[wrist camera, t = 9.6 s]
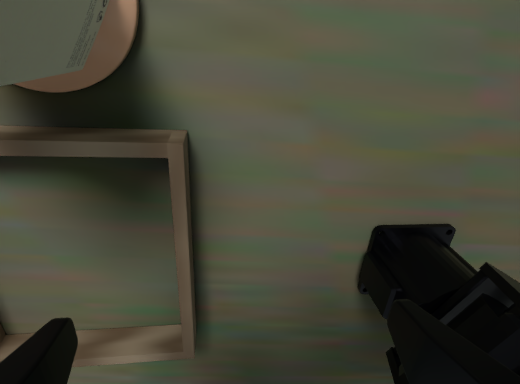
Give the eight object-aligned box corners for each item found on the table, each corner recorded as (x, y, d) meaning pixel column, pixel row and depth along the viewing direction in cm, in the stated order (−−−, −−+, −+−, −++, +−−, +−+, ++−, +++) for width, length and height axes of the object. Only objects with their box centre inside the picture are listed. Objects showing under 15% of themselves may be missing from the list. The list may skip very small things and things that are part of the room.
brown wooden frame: (187, 130, 18) (182, 143, 16) (196, 330, 26) (194, 357, 23) (-109, 122, 16) (-161, 136, 14) (-3, 342, 24) (-26, 374, 21)
